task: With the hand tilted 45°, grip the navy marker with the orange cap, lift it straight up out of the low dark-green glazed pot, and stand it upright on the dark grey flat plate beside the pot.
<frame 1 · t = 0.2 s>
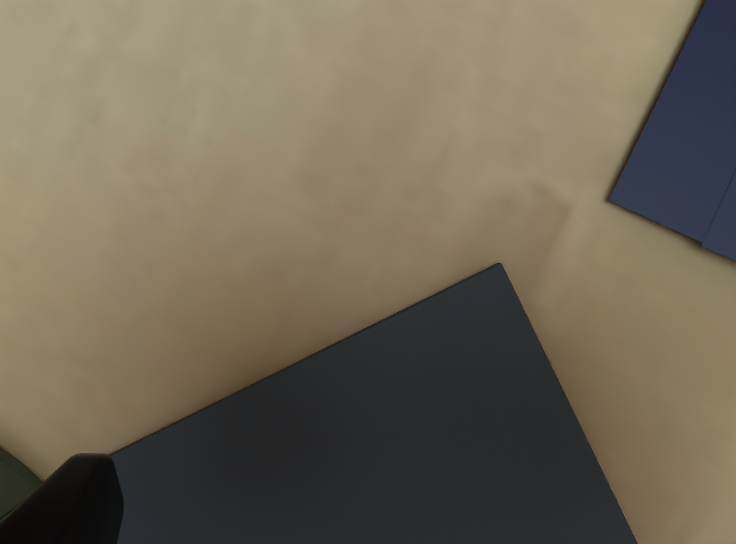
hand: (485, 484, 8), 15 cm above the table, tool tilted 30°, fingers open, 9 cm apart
dark grey flat plate: (362, 527, 23), on the table
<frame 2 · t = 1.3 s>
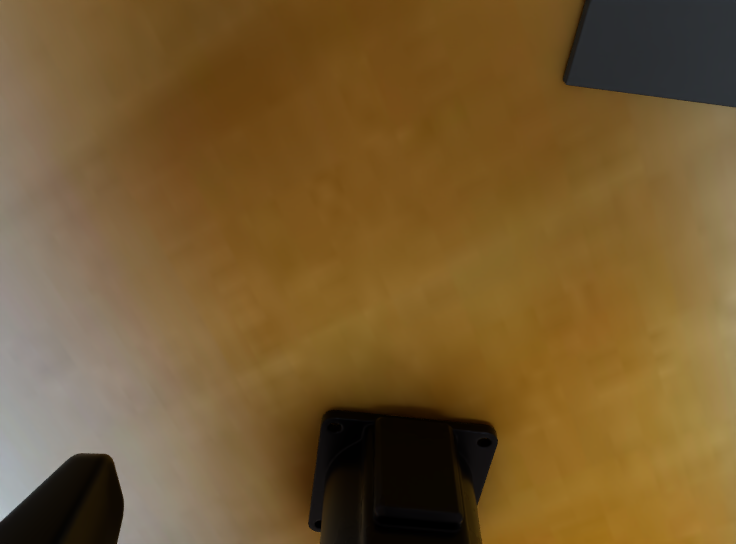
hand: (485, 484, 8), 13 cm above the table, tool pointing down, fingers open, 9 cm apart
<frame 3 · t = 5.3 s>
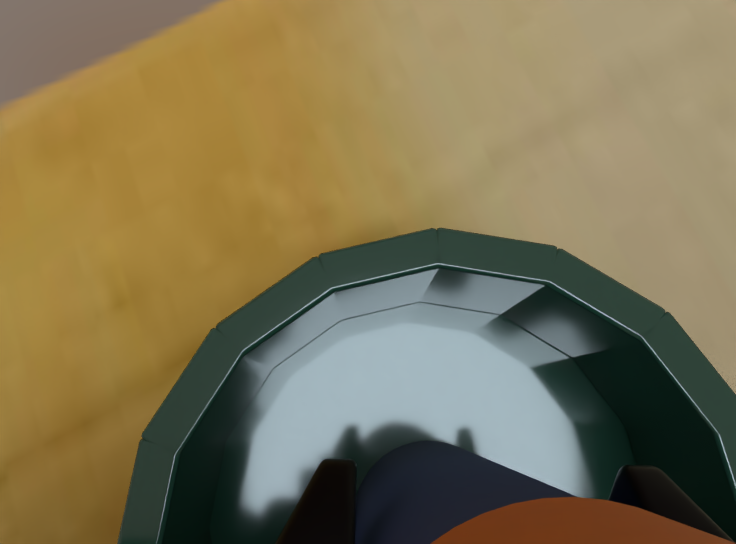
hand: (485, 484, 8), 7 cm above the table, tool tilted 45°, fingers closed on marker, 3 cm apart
marker: (429, 519, 14), point 1 cm above the table, touching gripper, pot
pot: (427, 515, 15), on the table
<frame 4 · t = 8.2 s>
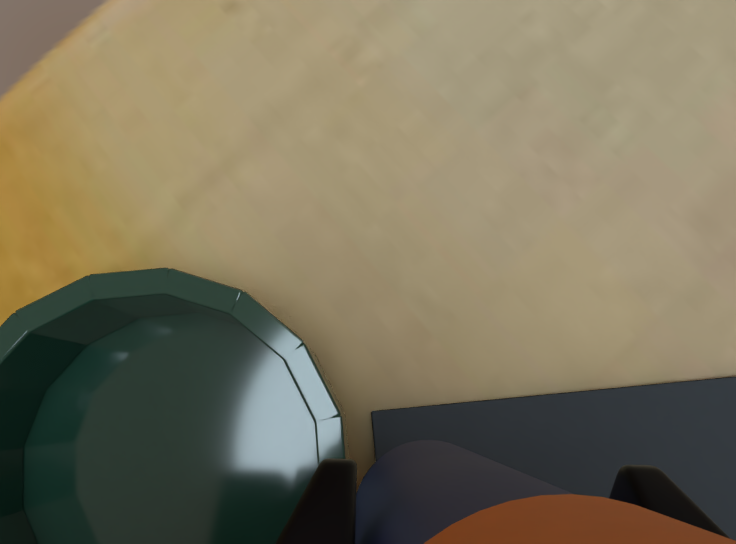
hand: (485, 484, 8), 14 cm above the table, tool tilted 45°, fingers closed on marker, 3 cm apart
marker: (429, 518, 14), point 7 cm above the table, touching gripper
pot: (180, 462, 21), on the table
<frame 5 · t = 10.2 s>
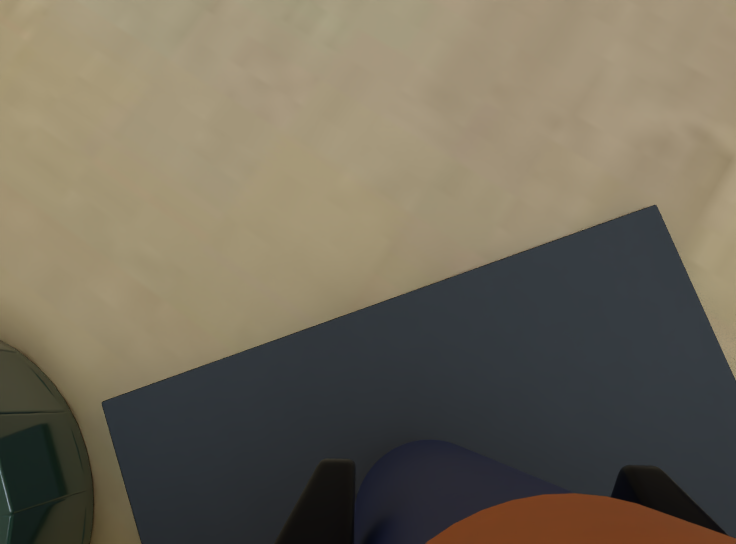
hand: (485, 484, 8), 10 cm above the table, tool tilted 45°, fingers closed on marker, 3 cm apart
marker: (430, 518, 14), point 4 cm above the table, touching gripper
dark grey flat plate: (465, 516, 18), on the table
when the fingers open (7 cm above the table, at t = 11.4 s): marker stays where it is, resting on dark grey flat plate.
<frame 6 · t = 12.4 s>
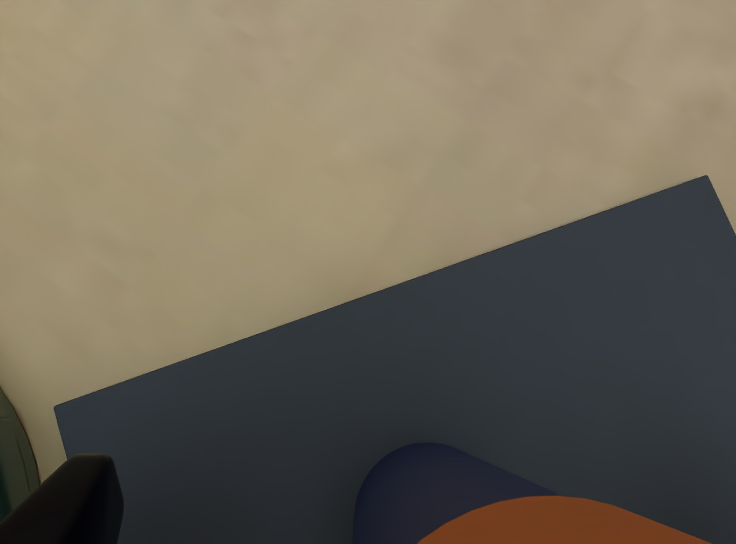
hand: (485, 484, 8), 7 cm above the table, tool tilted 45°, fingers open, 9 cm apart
marker: (428, 518, 15), resting on dark grey flat plate
dark grey flat plate: (485, 542, 15), on the table
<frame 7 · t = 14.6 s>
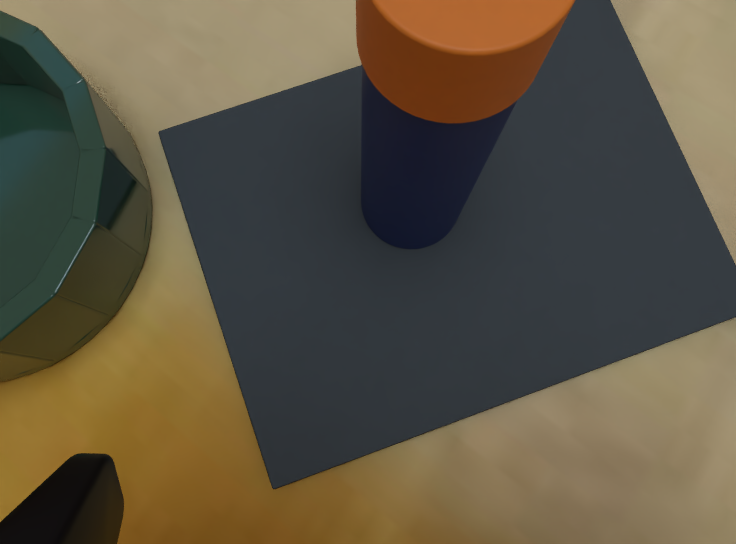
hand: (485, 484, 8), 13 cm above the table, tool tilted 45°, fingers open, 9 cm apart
marker: (410, 201, 22), resting on dark grey flat plate
dark grey flat plate: (449, 221, 23), on the table
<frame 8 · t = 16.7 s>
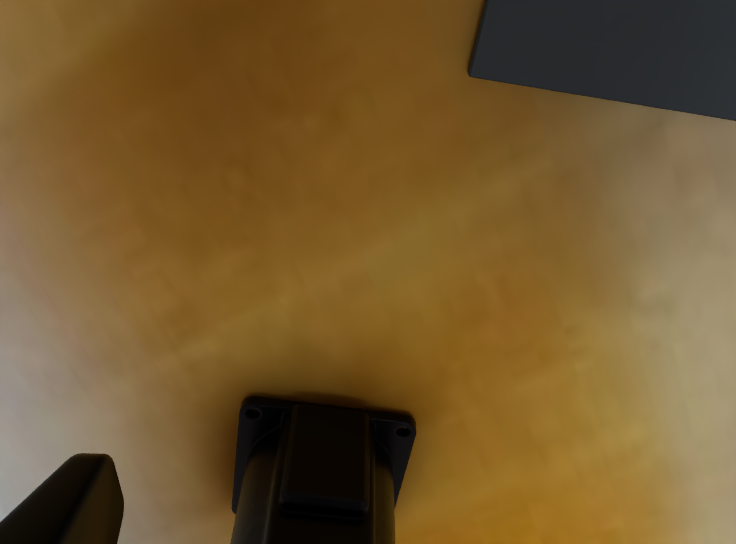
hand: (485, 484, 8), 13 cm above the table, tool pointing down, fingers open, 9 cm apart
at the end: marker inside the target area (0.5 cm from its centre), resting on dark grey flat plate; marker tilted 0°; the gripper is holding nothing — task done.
